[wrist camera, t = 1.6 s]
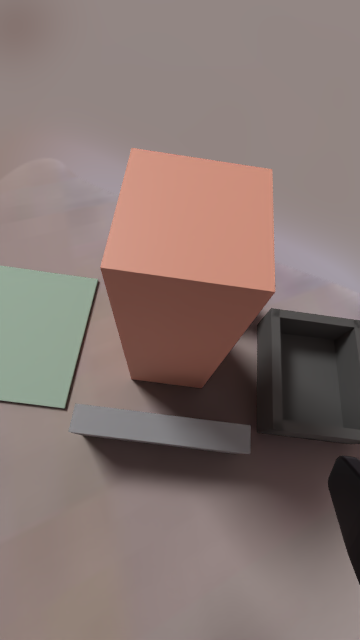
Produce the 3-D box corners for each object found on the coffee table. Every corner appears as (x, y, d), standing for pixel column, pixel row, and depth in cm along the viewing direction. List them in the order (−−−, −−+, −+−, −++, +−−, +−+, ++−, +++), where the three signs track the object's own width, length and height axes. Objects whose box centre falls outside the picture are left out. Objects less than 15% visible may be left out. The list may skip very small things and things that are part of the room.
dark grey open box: (350, 443, 21) (380, 442, 18) (257, 432, 20) (273, 429, 18) (337, 335, 24) (361, 320, 21) (257, 324, 24) (271, 308, 21)
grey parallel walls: (234, 453, 20) (250, 454, 17) (82, 435, 19) (68, 431, 16) (239, 294, 25) (252, 271, 22) (118, 277, 24) (112, 251, 21)
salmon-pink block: (201, 388, 21) (275, 291, 9) (131, 379, 21) (100, 267, 8) (206, 324, 23) (272, 169, 11) (142, 315, 23) (131, 147, 10)
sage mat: (64, 408, 20) (64, 408, 20) (-73, 391, 20) (-75, 390, 20) (98, 280, 24) (97, 279, 24) (-16, 264, 24) (-17, 263, 24)
